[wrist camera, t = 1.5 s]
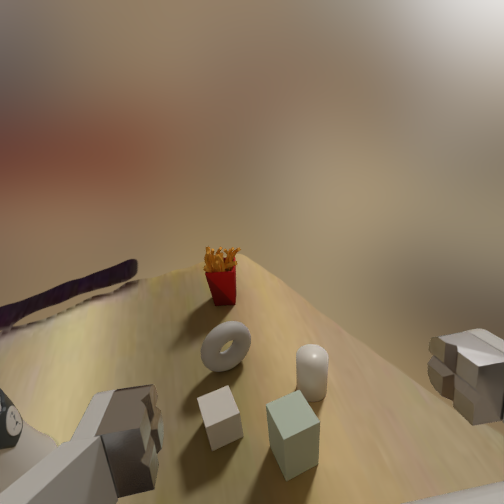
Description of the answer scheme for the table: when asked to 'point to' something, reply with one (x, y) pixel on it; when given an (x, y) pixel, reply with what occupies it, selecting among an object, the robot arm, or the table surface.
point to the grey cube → (220, 417)
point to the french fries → (221, 275)
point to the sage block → (293, 434)
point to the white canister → (312, 372)
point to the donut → (217, 341)
